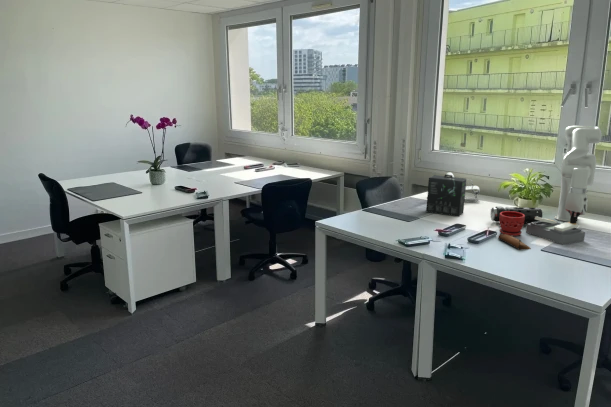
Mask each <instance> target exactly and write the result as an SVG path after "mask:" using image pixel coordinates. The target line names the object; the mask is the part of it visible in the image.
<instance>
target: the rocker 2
mask: <svg viewBox="0 0 611 407" xmlns="http://www.w3.org/2000/svg"><path fill="white" fill-rule="evenodd" d="M572 228H579V223H578V222H577V223H574V224H572V223H570V222H564V223H561V224H560V225H557V226H554V229H555V230H559V231H565V230H569V229H572Z"/></svg>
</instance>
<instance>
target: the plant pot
mask: <svg viewBox="0 0 611 407" xmlns="http://www.w3.org/2000/svg"><path fill="white" fill-rule="evenodd" d="M508 215H509V217H508ZM514 216H515V217H514ZM524 220H525V215H524V214H522V213H519V212H514V211H504V212H501V213H500V216H499V222H498V223H499V227H500V228H499V232H500V233H501V234H506V235H510V236H512V237H518V236H521V235H522V231H523V230H522V229H523V227H524V225H525V223H524Z"/></svg>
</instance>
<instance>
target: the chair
mask: <svg viewBox="0 0 611 407" xmlns="http://www.w3.org/2000/svg"><path fill="white" fill-rule="evenodd" d="M446 175H452V177H455V175H454V174H453V172H447V173H446ZM465 179H466V184H471V185H466V190H465V191H469V190H470V191H471V193H472V195H474V198H476V200H475V201H474V203H475V202H476V203H478V201H479V199H478V196H479V195H480V193H481V189H480V187H479V186H478V185H474V184H473V180H472V179H469V178H465ZM468 181H471V182H468ZM475 190H476V191H475ZM466 201H467V200H466ZM466 203H471V201H467V202H466Z"/></svg>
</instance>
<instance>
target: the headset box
mask: <svg viewBox="0 0 611 407" xmlns="http://www.w3.org/2000/svg"><path fill="white" fill-rule="evenodd" d="M446 174H447V173H446ZM446 174H444V175H437V174H434V175H432V176H430V177H428V182H427V198H426V209H425V212H426V211H428V212H427V213H432V212H433V214H440V215H445V216H452V217H457V218H459V217H460V216H462V215H463V213H464V208H465V202H464V201H466V200H465V199H466V191H467V190H466V186H467V183H466V182H467V180H466V179H467V178H466V177H465V178H464V177H456V176H454V177H452V175H446Z"/></svg>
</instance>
